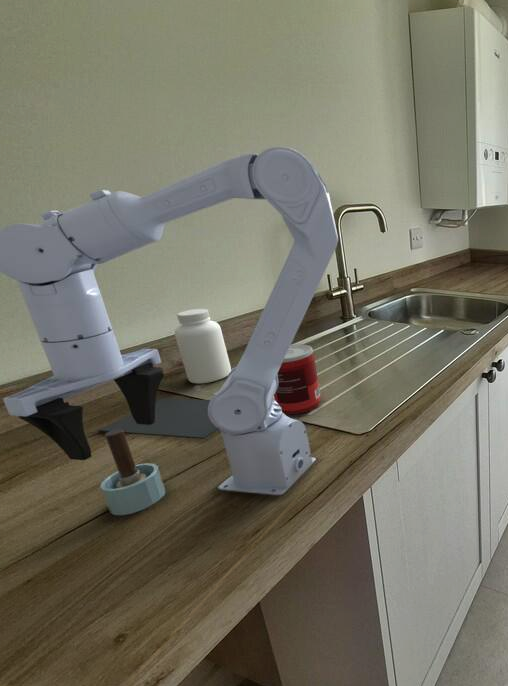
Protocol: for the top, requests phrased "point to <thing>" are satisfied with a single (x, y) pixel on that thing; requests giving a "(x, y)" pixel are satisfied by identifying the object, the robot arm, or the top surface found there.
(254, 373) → the robot arm
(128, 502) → the bowl
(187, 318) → the pill bottle
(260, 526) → the top surface
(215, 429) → the mat
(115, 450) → the brush
